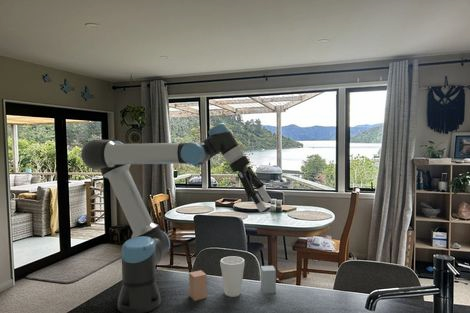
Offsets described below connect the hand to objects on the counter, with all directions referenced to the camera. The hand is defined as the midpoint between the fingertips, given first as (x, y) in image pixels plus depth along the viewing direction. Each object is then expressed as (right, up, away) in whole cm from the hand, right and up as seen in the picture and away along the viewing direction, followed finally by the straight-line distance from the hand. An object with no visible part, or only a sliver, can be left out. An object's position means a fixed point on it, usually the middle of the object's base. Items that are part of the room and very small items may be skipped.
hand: (266, 205), depth 126 cm
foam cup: (-13, -35, +2) cm, 37 cm away
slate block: (+1, -34, +4) cm, 35 cm away
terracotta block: (-26, -35, -1) cm, 44 cm away
